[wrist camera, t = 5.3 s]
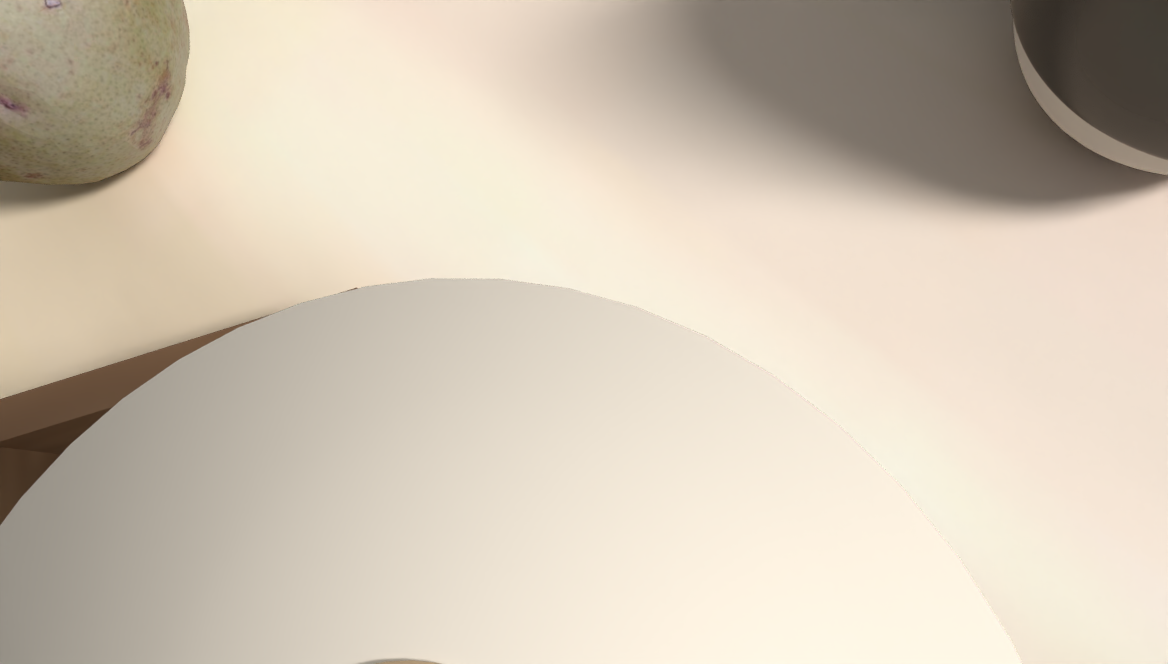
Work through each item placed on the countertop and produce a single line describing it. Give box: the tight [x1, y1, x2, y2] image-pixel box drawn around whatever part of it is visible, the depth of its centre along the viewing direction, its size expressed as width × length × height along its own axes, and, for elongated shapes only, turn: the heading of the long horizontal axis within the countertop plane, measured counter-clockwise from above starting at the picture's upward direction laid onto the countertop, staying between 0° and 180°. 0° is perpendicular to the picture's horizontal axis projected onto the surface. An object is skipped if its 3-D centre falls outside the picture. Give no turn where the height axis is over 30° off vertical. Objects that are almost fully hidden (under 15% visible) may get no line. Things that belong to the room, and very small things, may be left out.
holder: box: [0, 288, 358, 525], centre depth 22 cm, size 14×14×4 cm
